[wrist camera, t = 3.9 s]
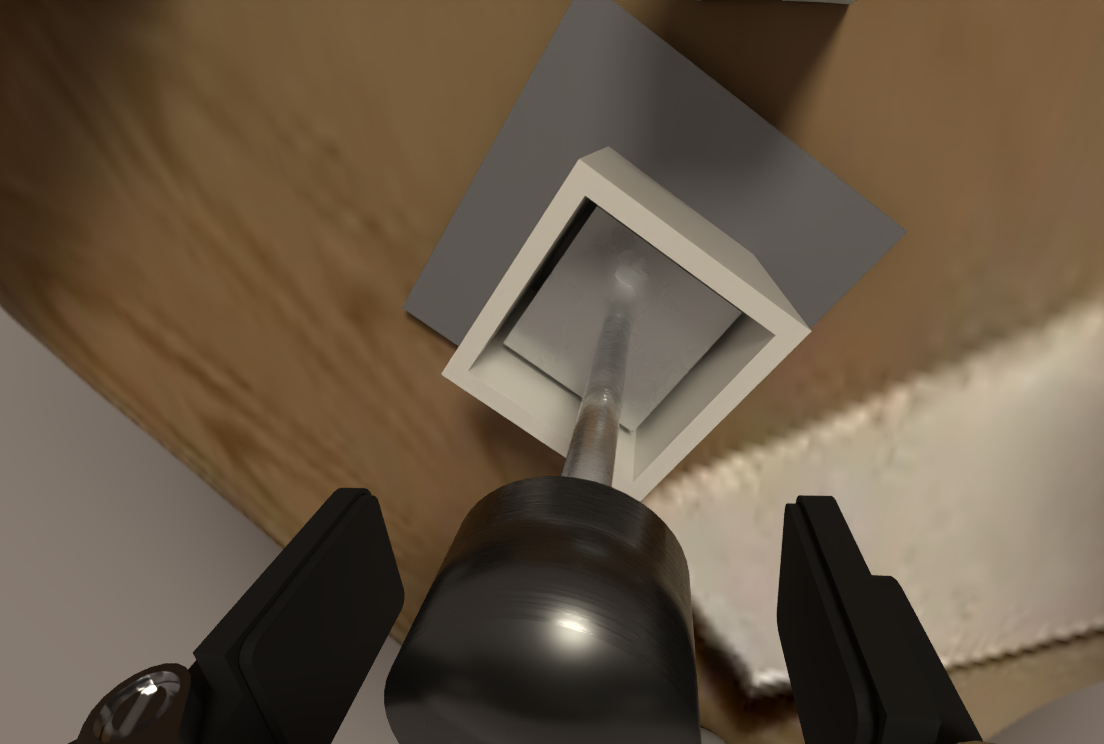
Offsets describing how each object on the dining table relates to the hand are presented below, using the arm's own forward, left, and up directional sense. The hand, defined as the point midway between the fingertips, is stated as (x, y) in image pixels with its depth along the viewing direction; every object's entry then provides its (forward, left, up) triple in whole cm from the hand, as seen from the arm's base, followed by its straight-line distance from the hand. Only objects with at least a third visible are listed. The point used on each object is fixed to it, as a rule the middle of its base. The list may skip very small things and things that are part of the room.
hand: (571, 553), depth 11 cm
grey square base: (0, 0, -23) cm, 23 cm away
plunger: (0, 0, -14) cm, 14 cm away
